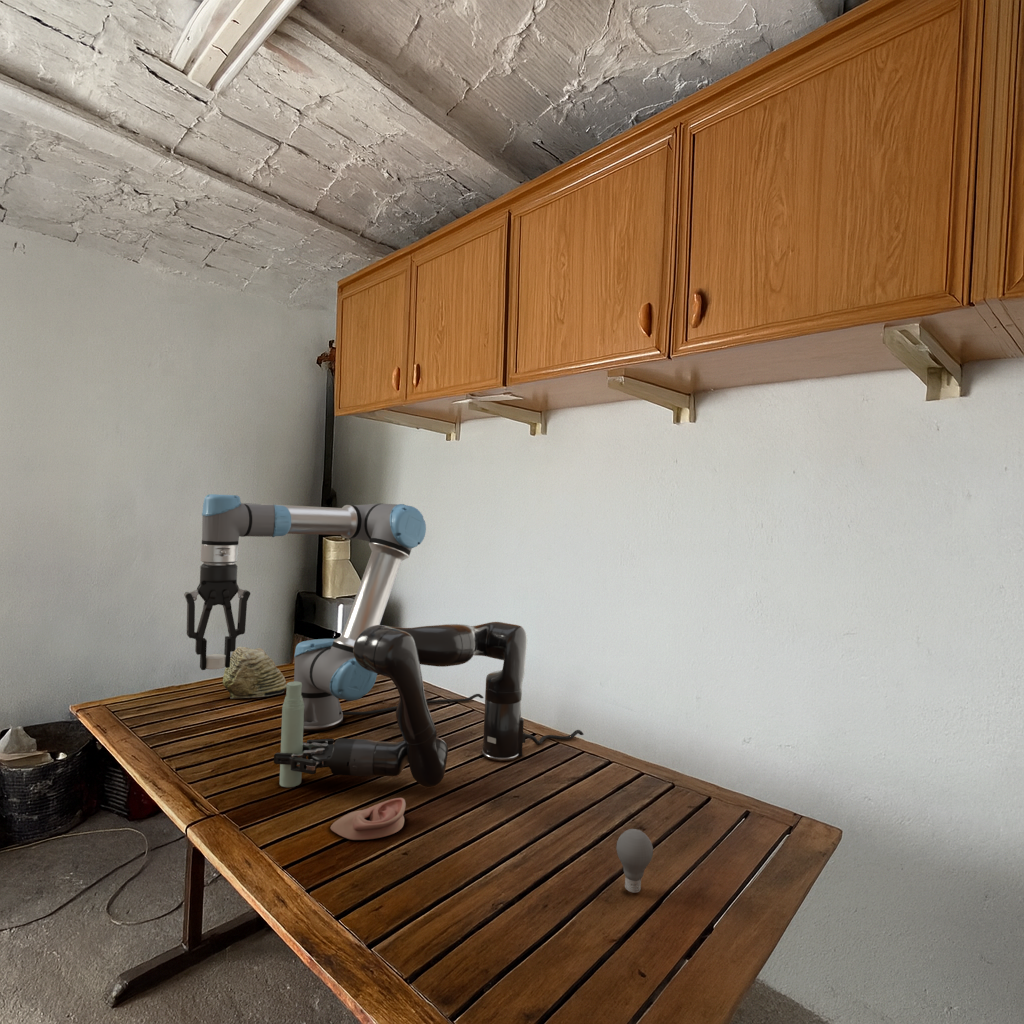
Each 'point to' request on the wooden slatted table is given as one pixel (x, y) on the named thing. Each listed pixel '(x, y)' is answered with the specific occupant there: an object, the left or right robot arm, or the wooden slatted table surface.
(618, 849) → the light bulb
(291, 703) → the bottle
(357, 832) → the anatomical model
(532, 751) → the wooden slatted table surface
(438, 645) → the right robot arm
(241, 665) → the fossil
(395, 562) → the left robot arm
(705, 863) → the wooden slatted table surface
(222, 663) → the cap
